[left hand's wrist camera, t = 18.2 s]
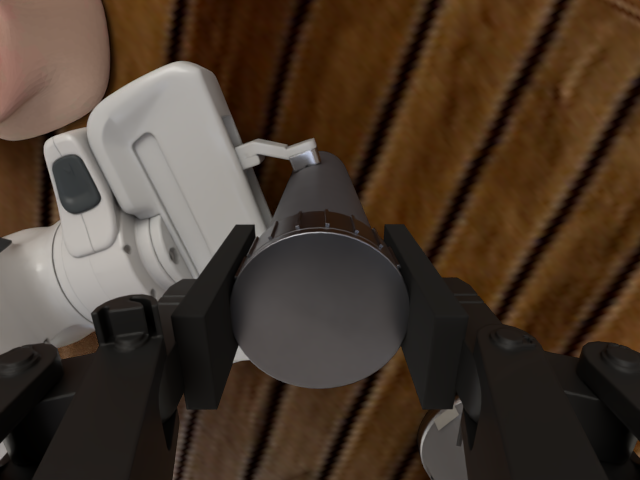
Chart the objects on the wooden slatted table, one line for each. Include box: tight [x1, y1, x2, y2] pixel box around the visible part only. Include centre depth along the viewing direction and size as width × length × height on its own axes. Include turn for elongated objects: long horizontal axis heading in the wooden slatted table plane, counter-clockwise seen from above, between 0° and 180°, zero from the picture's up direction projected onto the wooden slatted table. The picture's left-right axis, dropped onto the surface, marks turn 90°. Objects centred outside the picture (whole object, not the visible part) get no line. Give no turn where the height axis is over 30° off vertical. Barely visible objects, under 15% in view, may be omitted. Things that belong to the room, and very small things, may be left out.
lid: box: [230, 209, 410, 388], centre depth 11 cm, size 5×5×2 cm
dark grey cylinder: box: [268, 151, 371, 229], centre depth 20 cm, size 5×5×20 cm
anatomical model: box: [0, 0, 110, 141], centre depth 24 cm, size 13×4×12 cm
